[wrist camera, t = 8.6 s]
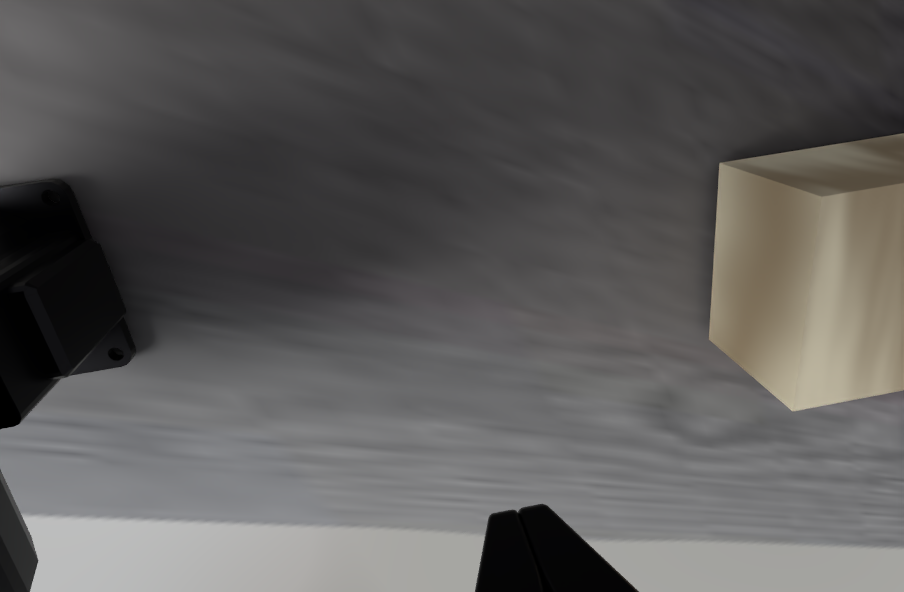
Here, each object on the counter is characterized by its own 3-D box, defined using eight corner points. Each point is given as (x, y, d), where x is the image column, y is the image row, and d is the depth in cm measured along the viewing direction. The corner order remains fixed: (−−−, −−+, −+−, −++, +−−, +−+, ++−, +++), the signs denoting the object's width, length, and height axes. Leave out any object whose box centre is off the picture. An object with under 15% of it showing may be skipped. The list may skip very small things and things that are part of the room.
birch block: (793, 411, 18) (1079, 356, 19) (821, 196, 16) (1157, 140, 16) (709, 339, 23) (942, 296, 24) (719, 162, 20) (984, 120, 21)
